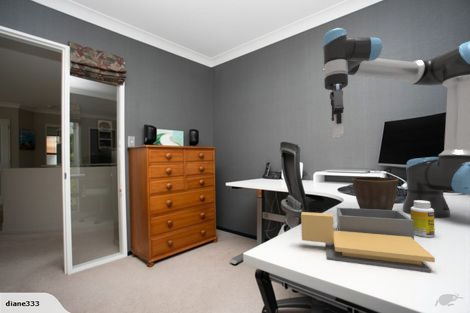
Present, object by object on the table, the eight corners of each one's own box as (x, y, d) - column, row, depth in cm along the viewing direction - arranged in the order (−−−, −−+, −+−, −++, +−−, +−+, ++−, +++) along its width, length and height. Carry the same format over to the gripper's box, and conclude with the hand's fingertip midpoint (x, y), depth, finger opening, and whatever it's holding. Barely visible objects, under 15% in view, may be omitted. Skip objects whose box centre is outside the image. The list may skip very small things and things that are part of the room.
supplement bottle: (431, 239, 65) (430, 203, 65) (408, 234, 69) (407, 201, 70) (437, 235, 68) (436, 201, 68) (415, 230, 73) (414, 199, 73)
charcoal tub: (399, 232, 71) (398, 210, 71) (414, 246, 60) (413, 220, 60) (337, 227, 77) (336, 207, 77) (340, 239, 66) (339, 215, 66)
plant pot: (397, 229, 74) (396, 181, 74) (348, 222, 84) (347, 179, 84) (401, 219, 85) (400, 177, 85) (358, 214, 95) (356, 176, 95)
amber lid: (411, 246, 59) (410, 214, 59) (435, 269, 47) (433, 228, 47) (303, 236, 68) (303, 208, 68) (300, 253, 56) (299, 219, 56)
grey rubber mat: (406, 247, 59) (406, 245, 59) (431, 272, 46) (430, 270, 46) (325, 239, 67) (325, 237, 67) (326, 259, 54) (326, 257, 54)
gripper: (323, 87, 92) (325, 139, 91) (324, 64, 68) (326, 133, 68) (344, 85, 89) (345, 138, 89) (352, 59, 66) (354, 131, 65)
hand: (337, 136), depth 78 cm, fingers open, 13 cm apart
